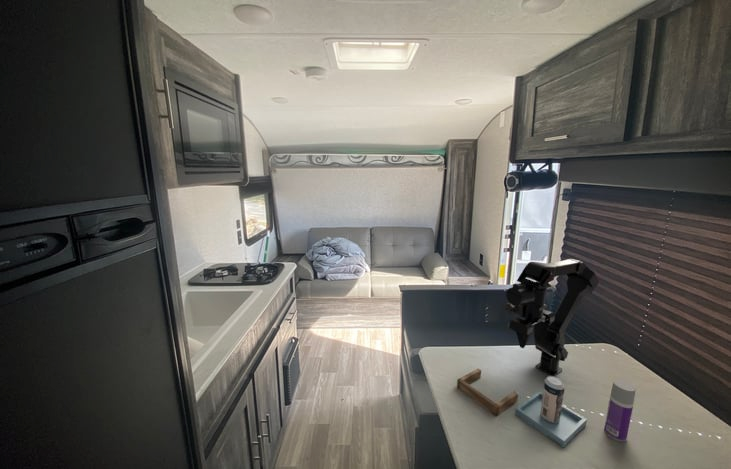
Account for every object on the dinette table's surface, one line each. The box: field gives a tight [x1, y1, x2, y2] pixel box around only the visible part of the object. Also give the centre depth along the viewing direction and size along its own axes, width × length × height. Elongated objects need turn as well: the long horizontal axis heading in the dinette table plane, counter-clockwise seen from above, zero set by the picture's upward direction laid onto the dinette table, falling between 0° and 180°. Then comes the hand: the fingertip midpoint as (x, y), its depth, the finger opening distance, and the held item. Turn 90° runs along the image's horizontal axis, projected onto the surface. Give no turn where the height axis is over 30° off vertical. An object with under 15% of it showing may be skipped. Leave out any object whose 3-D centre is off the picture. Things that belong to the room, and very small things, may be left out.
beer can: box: [540, 375, 566, 423], centre depth 83 cm, size 5×5×12 cm
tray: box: [514, 391, 588, 448], centre depth 84 cm, size 13×13×2 cm
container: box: [603, 379, 637, 442], centre depth 78 cm, size 5×5×15 cm
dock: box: [456, 368, 519, 417], centre depth 94 cm, size 11×14×3 cm
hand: (529, 343), depth 100 cm, fingers open, 9 cm apart
